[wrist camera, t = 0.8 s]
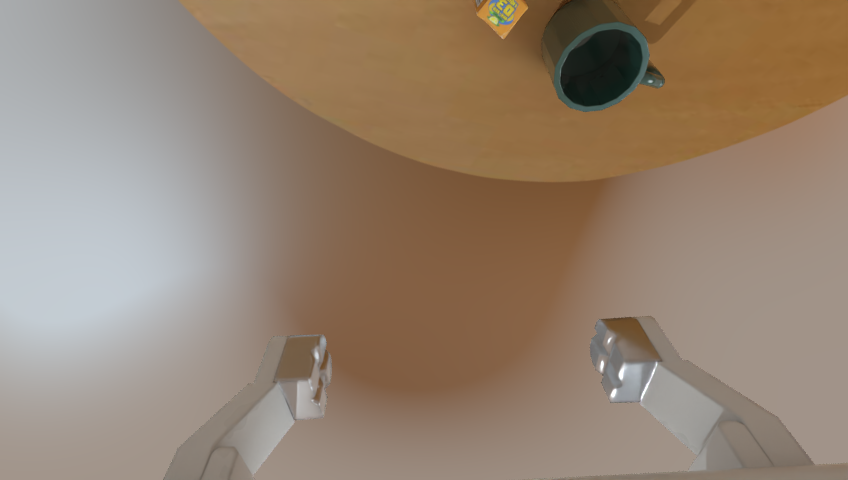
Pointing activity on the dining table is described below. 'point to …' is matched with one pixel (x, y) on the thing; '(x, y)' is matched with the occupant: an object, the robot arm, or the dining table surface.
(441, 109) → the dining table surface
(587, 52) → the teal faceted mug
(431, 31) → the dining table surface
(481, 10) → the supplement box
